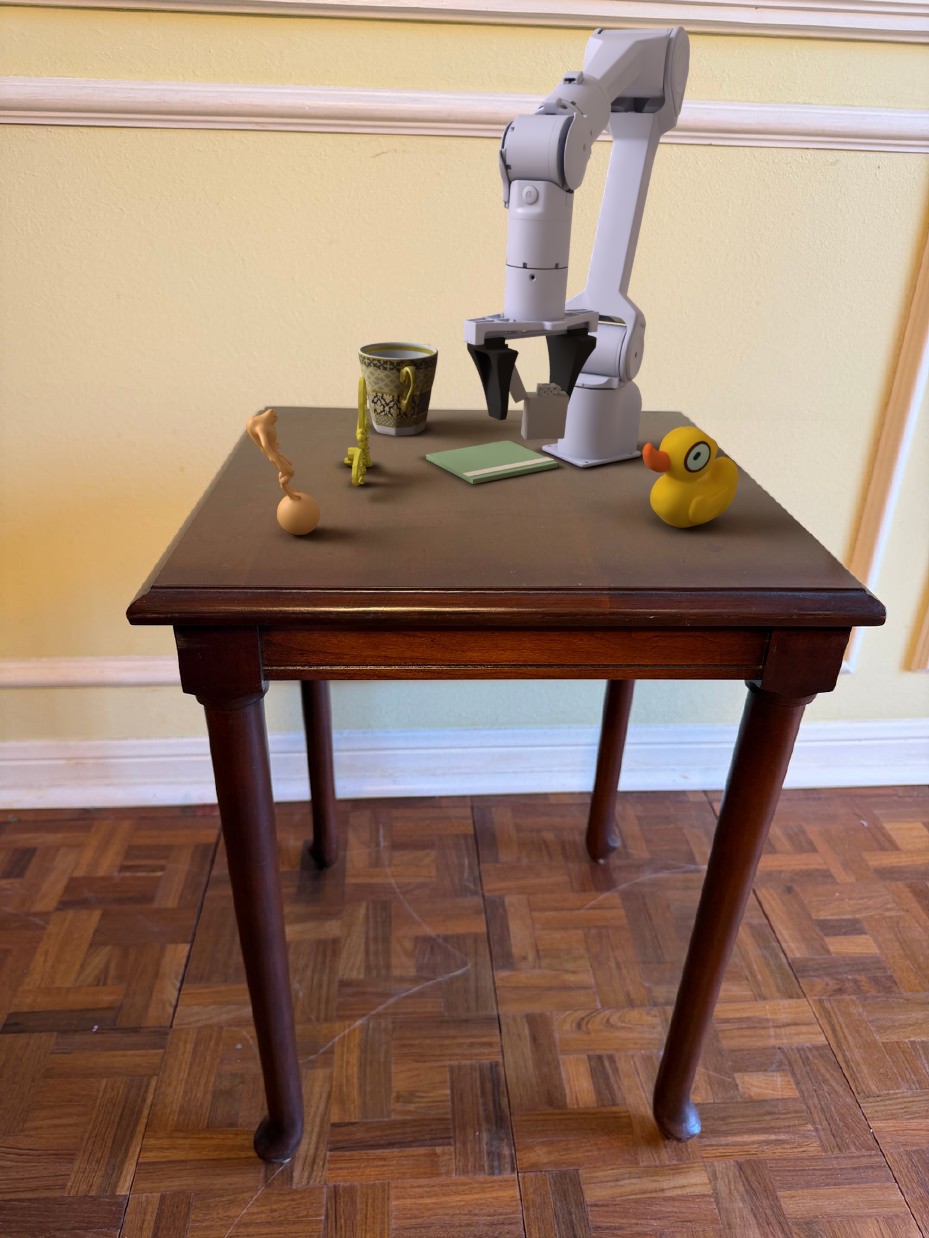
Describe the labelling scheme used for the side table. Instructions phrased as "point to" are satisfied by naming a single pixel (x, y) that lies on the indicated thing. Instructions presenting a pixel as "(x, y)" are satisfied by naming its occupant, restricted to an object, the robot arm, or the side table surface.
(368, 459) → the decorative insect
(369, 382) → the ceramic cup
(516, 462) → the towel
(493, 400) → the robot arm
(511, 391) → the lighter
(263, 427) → the figurine
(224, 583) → the side table surface
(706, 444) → the duckling
